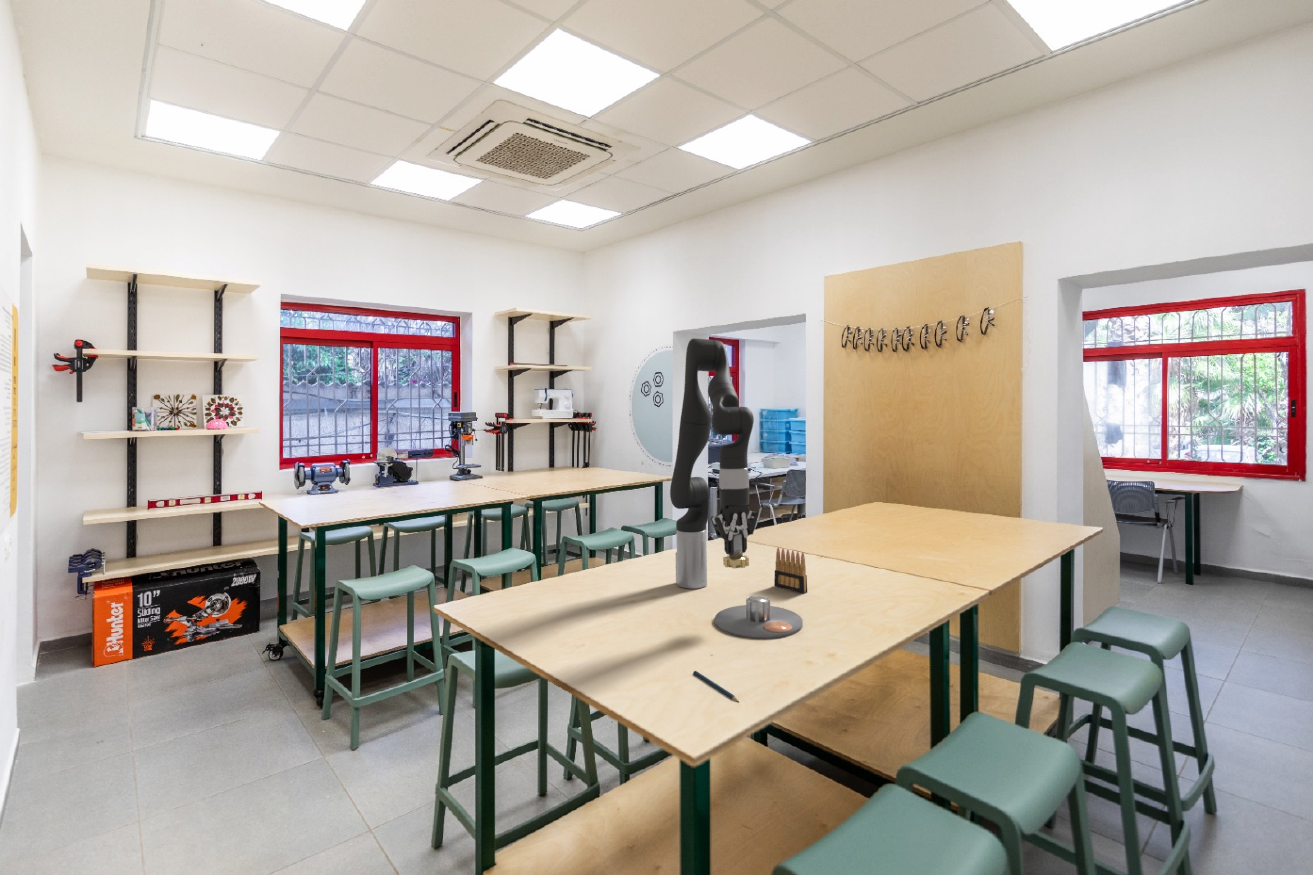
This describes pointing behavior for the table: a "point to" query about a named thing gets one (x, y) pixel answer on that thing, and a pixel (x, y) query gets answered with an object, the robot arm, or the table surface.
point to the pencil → (715, 686)
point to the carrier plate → (758, 620)
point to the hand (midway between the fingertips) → (735, 553)
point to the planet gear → (736, 554)
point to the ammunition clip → (790, 572)
